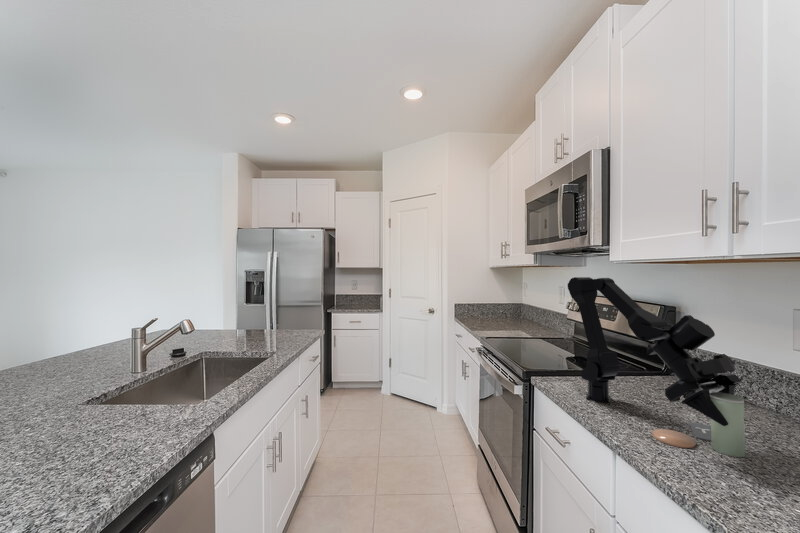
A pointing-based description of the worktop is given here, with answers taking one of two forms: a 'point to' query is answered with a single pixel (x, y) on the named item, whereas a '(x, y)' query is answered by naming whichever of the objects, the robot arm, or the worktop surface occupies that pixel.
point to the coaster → (674, 438)
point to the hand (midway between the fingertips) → (735, 423)
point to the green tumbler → (729, 425)
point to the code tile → (701, 431)
